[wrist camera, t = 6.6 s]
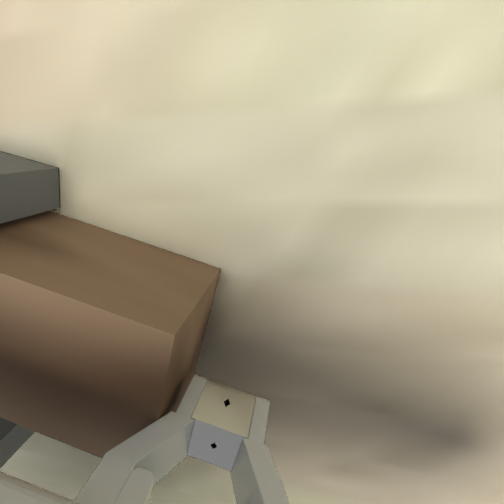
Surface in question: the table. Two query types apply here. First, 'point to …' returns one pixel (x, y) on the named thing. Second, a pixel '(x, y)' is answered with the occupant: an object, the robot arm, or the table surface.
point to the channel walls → (15, 207)
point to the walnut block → (95, 330)
